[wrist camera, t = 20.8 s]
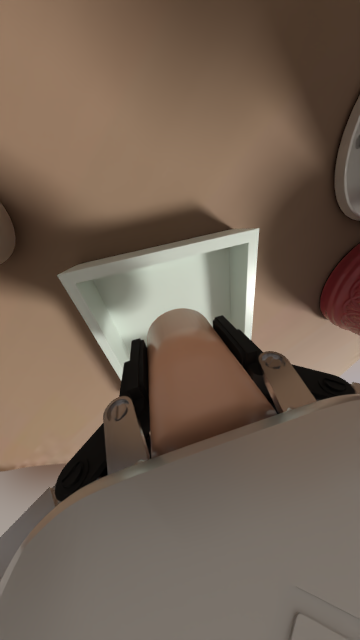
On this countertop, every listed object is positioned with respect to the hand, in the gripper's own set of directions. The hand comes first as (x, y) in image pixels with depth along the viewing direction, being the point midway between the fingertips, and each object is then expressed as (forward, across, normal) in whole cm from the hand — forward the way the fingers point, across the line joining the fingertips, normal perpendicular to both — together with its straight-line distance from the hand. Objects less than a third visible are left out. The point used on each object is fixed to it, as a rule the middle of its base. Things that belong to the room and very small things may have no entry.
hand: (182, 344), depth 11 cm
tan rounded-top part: (+1, 0, 0) cm, 1 cm away
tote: (+7, 0, +4) cm, 8 cm away
